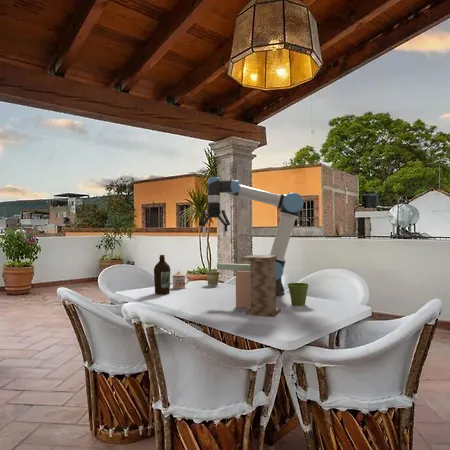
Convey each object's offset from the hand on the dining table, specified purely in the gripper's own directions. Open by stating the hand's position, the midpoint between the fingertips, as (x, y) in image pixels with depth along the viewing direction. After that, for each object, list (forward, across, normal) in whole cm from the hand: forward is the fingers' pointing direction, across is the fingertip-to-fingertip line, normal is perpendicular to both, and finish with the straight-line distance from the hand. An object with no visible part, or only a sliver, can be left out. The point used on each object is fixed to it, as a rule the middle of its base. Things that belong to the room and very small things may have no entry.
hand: (214, 237), depth 233 cm
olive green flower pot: (+37, -18, +41) cm, 58 cm away
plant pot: (+37, +53, -7) cm, 65 cm away
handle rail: (+18, +22, -16) cm, 33 cm away
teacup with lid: (+37, -36, +24) cm, 57 cm away
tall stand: (+37, +38, -32) cm, 62 cm away
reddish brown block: (+37, +29, -16) cm, 50 cm away
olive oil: (+37, -36, -2) cm, 52 cm away
